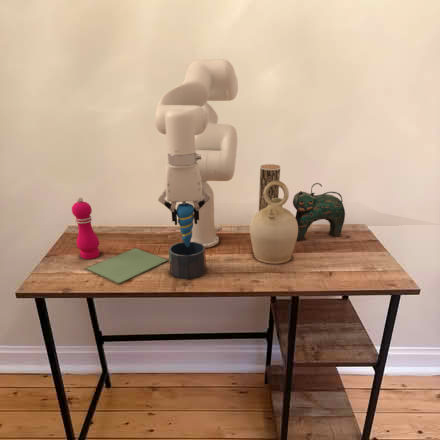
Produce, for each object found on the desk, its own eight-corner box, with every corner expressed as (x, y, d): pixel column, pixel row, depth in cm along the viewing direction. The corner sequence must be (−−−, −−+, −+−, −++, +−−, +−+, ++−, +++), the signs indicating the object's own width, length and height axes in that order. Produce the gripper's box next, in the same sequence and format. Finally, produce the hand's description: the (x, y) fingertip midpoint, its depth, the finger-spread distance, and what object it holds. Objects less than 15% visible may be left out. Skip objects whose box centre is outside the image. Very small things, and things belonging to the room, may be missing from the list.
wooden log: (277, 232, 153) (282, 165, 140) (273, 239, 147) (278, 169, 135) (260, 230, 155) (263, 163, 142) (255, 237, 149) (258, 168, 137)
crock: (187, 260, 132) (186, 238, 129) (212, 269, 127) (212, 247, 123) (163, 271, 125) (161, 249, 122) (189, 282, 119) (187, 259, 116)
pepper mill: (95, 260, 133) (84, 201, 123) (75, 259, 134) (62, 200, 124) (104, 251, 139) (95, 194, 129) (85, 250, 140) (74, 193, 130)
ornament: (199, 246, 123) (197, 198, 115) (186, 252, 119) (184, 203, 112) (187, 242, 126) (185, 195, 118) (175, 247, 123) (171, 199, 115)
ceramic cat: (293, 242, 144) (298, 186, 134) (286, 235, 150) (291, 181, 140) (344, 237, 148) (352, 182, 138) (335, 230, 154) (343, 177, 144)
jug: (263, 243, 144) (266, 172, 131) (303, 253, 136) (311, 179, 123) (240, 258, 133) (241, 182, 120) (282, 270, 125) (288, 190, 113)
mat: (135, 248, 141) (135, 247, 141) (167, 261, 132) (167, 259, 132) (86, 269, 127) (86, 268, 127) (119, 284, 119) (119, 282, 118)
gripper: (212, 155, 113) (213, 217, 123) (150, 157, 112) (157, 219, 121) (214, 161, 107) (216, 226, 116) (149, 163, 105) (156, 229, 115)
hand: (185, 222), depth 118 cm, fingers closed on ornament, 5 cm apart
